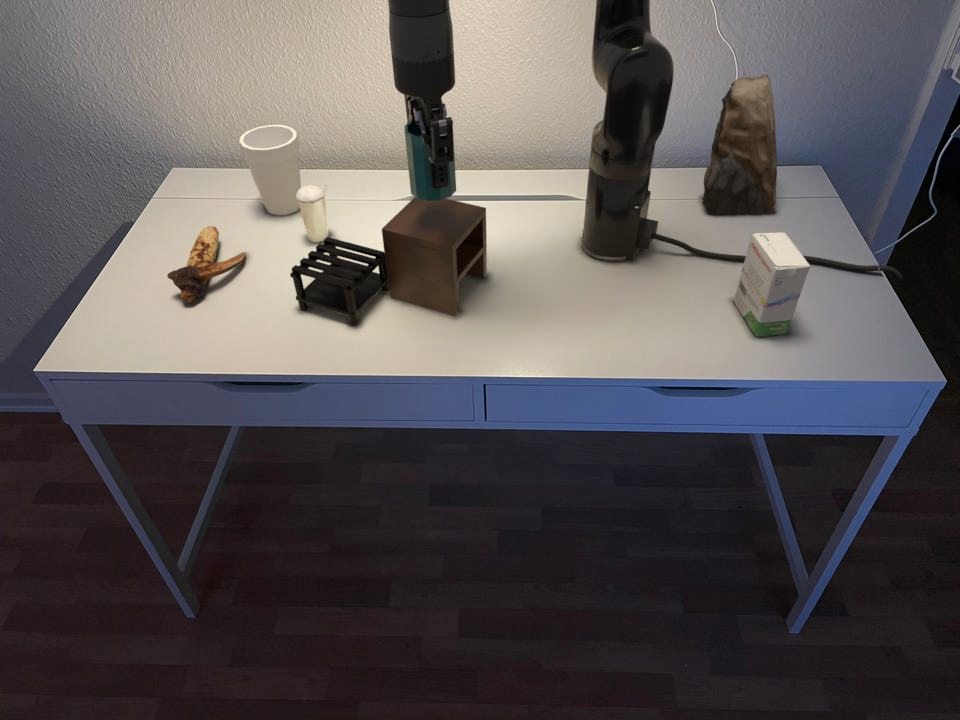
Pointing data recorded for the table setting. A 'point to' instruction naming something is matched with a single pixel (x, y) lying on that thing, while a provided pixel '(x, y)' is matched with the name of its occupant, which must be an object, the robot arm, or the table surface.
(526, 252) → the table surface
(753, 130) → the tall brown rock
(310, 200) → the milkshake
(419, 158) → the cup
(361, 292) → the rack
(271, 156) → the foam cup
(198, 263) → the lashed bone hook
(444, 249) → the shelf
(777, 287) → the ink box
